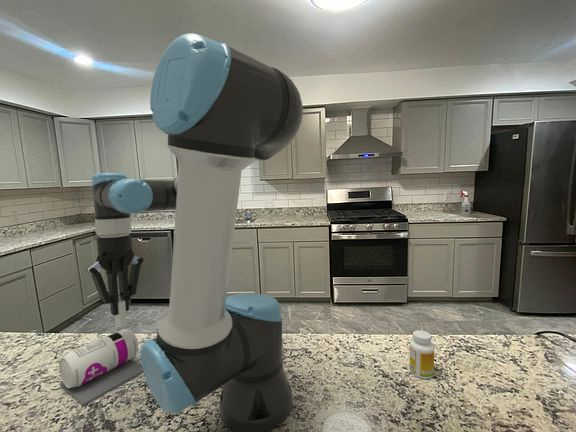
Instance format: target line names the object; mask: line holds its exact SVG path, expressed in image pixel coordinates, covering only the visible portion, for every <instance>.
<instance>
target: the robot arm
mask: <svg viewBox="0 0 576 432" xmlns="http://www.w3.org/2000/svg"><path fill="white" fill-rule="evenodd" d="M149 101H150V104H149V105H150V110H151V111H152V114H151V115H152V120H153V123H154V124H155V126H156V127H157V129H159V130H160V131H161V132H163V133H164V134H166V135H167V149H169V151H170V152H171V153H172V154H173V156H175V158H176V159H177V161H178V169H177V170H178V171H177V177H175V178H174V179H171V180H169V179H167V180H166V179H165V180H163V179H157V180H156V179H138V178H128V176H127V175H126V174H124V173H118V172H102V173H101V172H97V173H95V174H93V175H92V177H91V181H92V182H91V190H92V198H93V208H94V211H93V212H94V219H95V220H94V221H95V222H94V223H95V234H96V235H97V236H98V237H97V238H96V248H97V249H96V250H97V257H96V259H95V260H96V262H94V264H92V265H91V266H87V267H86V269H85V271H86V272H87V273H88V274H89V275H90V276H91V278H92V281H93V282H94V286H95V289H96V290H97V294H98V297H99V299H100V301H101V302H103V303H104V304H109V305H110V307H109V308H110V313H111V315H112V316H114V321H115V326H117V327H118V328H124V327H126V326H128V323H127V322H128V321H127V312H129V310H130V303H129V302H130V300H131V297H132V296H135V295H136V294H137V288H138V284H139V277H140V272H141V267H142V264H143V262H144V258H143V257H138V256H136V255H135V252H134V251H133V237H132V235H131V233H132V222H131V214H139V213H145V212H147V213H148V212H158V211H159V212H160V211H162V212H163V211H175V214H174V216H175V217H174V231H173V242H172V243H173V246H172V262H171V275H170V276H171V277H170V292H169V307H168V310H167V311H165V312H164V313H163V314H162V315H161V316H160V317H159V320H158V322H157V329H156V337H155V338H149V339H148V340H147V341H145V342H144V343H143V344H142V345H141V347H140V351H139V352H140V353H139V354H140V363H141V366H142V368H143V371H144V372H143V375H144V377H145V380H146V383H147V385H148V388H149V390H150V392H151V394H152V396H153V398H154V400H155V402H156V403H157V404H158V405H159V407H160V408H161V410H163V411H164V412H165V413H168V414H172V415H176V414H179V413H181V412H182V411H184V410H186V409H187V408H189V407H191V406H195V405H196V404H197V403H198V402H200V401H201V400H202V399H204V398H205V397H207V396H209V395H210V394H211V393H213V392H215V391H216V390H217V389H219V388H220V387H221V388H222V391H221V393H220V397H219V414H220V415H219V416H220V418H221V421H222V422H223V424H224V425H226V427H227V428H229V430H231V431H234V432H269V431H271V430H273V429H276V428H277V427H278V426H279V425H281V424H282V423H283V422H284V421H285V420H286V419H287V418H288V416H289V415H290V413H291V410H292V408H293V407H292V406H293V392H292V386H291V385H290V382H289V381H288V378H287V375H286V372H285V369H284V365H283V364H284V363H283V362H284V361H283V357H284V355H283V317H282V308H281V304H280V302H279V301H278V300H277V299H276V298H274V297H272V296H270V295H267V294H263V293H262V294H261V293H254V292H253V293H251V292H250V293H249V292H246V293H245V292H244V293H237V294H233V295H232V294H231V295H230V296H227V295H228V288H229V277H230V270H231V262H232V254H233V245H234V237H235V229H236V221H237V214H238V204H239V203H238V202H239V198H240V197H239V195H240V187H241V179H242V171H244V170H245V169H246V168H249V166H251V165H252V164H254V163H255V162H257V161H259V162H260V161H264V162H265V161H268V160H269V159H270V158H272V157H274V156H275V155H277V154H278V153H280V152H281V151H282V150H283V149H285V148H286V147H288V145H290V143H291V142H293V140H294V138H295V137H296V135H297V133H298V132H299V130H300V127H301V124H302V120H303V101H302V97H301V93H300V92H299V89H298V87H297V86H296V84H295V83H294V81H293V80H292V79H291V78H290V77H289V76H288V75H287V74H285V73H284V72H282V71H281V70H280V69H277V68H275V67H273V66H269V65H267V64H266V63H264V62H261V61H259V60H258V59H255V58H253V57H251V56H249V55H247V54H244V52H241V51H239V50H237V49H235V48H233V47H231V46H229V45H228V44H226V43H225V42H223V41H218V40H217V41H216V40H214V39H211V38H209V37H207V36H203V35H200V34H197V33H190V32H189V33H185V34H181V35H180V36H178V37H176V38H175V39H173V40H172V41H171V43H169V45H168V46H167V47H166V48H165V50H164V52H163V53H162V55H161V57H160V59H159V61H158V63H157V66H156V68H155V72H154V75H153V79H152V83H151V88H150V100H149ZM130 264H131V265H130ZM129 267H130V269H129ZM101 268H102V269H103V270H104V271H105V275H106V278H107V280H106V281H107V286H106V284H105V281H104V278H103V275H102V274H101ZM129 270H130V271H129ZM128 274H129V275H128Z"/></svg>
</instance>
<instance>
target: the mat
mask: <svg viewBox="0 0 576 432" xmlns="http://www.w3.org/2000/svg"><path fill="white" fill-rule="evenodd" d="M141 374H144V371H143V368H142V364H139V363H138V362H135V361H134V360H133V359H131V360H129V361H127V362H125V363H123V364H121V365H119V366H117V367H115V368H114V369H112V370H110V371H108V372H106V373H104V374H102V375H100V376H98V377H96V378H94V379H92V380H91V381H89V382H87V383H85V384H83V385H81V386H79V387H71V388H67V387H66V386H65V384H64V383H63V381H62V380H61V381H60V382H59V386H60V387H61V388H62V389H64V390H65V391H66V392H67V393H68V394H69V395H70V396H71V397H72V398H73V399H75V400H76V401H77V403H79V405H81V406H82V407H84V406H86V405H88V404H90V403H91V402H93V401H95V400H97V399H99V398H101V397H102V396H104V395H106V394H107V393H108V394H109V392H111V391H113V390H114V389H116V388H118V387H120V386H121V385H123V384H125V383H127V382H129V381H131V380H133V379H134V378H136V377H138V376H140V375H141Z"/></svg>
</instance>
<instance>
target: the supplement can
mask: <svg viewBox="0 0 576 432" xmlns="http://www.w3.org/2000/svg"><path fill="white" fill-rule="evenodd" d="M138 351H139V341H138V337H137V336H136V334H135V333H134V332H133V330H130V329H129V328H121V330H118V331H116V332H112V333H110V334H108V335H106V336H104V337H101V338H99V339H97V340H94V341H91V342H90V343H87V344H84V345H82V346H79V347H77V348H75V349H73V350H70V351H68V352H67V353H66V354H65V355H64V356H62V357H61V358H60V359H59V361H58V368H59V374H60V378H61V382H62V381H63V383H64V384H65V386H66V387H67V388H71V387H79V386H81V385H83V384H85V383H87V382H89V381H91V380H92V379H94V378H96V377H98V376H100V375H102V374H104V373H106V372H108V371H110V370H112V369H114V368H115V367H117V366H119V365H121V364H123V363H125V362H127V361H129V360H133V359H134V358H136V356H137V354H138Z"/></svg>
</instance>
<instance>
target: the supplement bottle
mask: <svg viewBox="0 0 576 432" xmlns="http://www.w3.org/2000/svg"><path fill="white" fill-rule="evenodd" d="M409 371H410V374H412V375H413V376H414V377H416V378H419V379H423V380H429V379H432V378H433V377H434V375H435V345H434V344H433V343H432V335H431V333H429V332H428V331H425V330H414V331H413V333H412V339H410V341H409Z"/></svg>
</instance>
